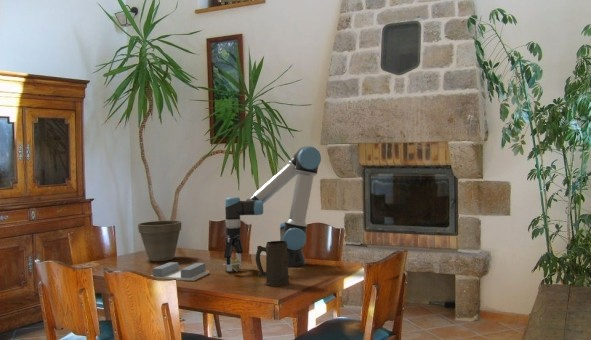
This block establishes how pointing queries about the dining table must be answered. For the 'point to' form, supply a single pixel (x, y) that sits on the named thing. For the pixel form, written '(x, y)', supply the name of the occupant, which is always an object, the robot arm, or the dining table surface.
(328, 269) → the dining table surface
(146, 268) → the dining table surface
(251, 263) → the dining table surface
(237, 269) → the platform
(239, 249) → the robot arm
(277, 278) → the beer stein
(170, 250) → the plant pot
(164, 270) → the tray with grey blocks
